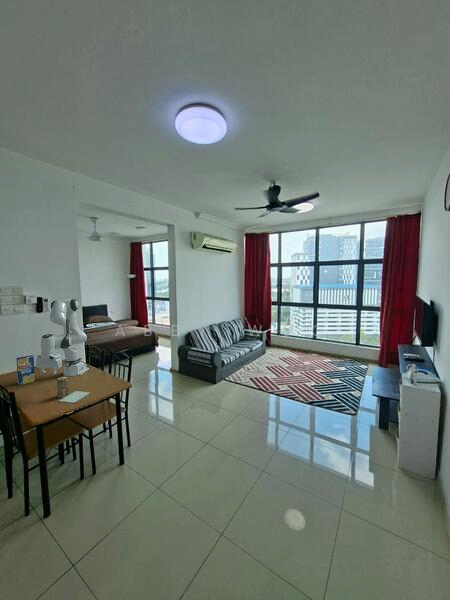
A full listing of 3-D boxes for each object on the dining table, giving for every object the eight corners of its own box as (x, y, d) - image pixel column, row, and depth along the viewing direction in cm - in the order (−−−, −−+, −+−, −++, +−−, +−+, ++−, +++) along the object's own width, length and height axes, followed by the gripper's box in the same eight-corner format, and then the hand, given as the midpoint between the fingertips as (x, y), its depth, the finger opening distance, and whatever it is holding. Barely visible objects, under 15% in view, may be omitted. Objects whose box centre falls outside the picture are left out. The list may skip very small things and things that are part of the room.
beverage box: (35, 381, 210) (33, 356, 209) (18, 385, 202) (17, 359, 201) (33, 379, 215) (32, 355, 213) (17, 382, 207) (16, 357, 205)
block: (62, 394, 188) (62, 376, 187) (68, 394, 187) (67, 377, 186) (57, 397, 183) (56, 379, 182) (63, 397, 182) (62, 379, 181)
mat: (75, 391, 193) (75, 390, 192) (90, 393, 190) (90, 392, 190) (58, 401, 177) (58, 400, 177) (75, 403, 175) (75, 402, 175)
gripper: (32, 356, 184) (33, 374, 185) (56, 357, 180) (57, 375, 181) (40, 354, 190) (41, 371, 191) (63, 355, 187) (64, 372, 188)
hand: (49, 373), depth 186 cm, fingers open, 8 cm apart
